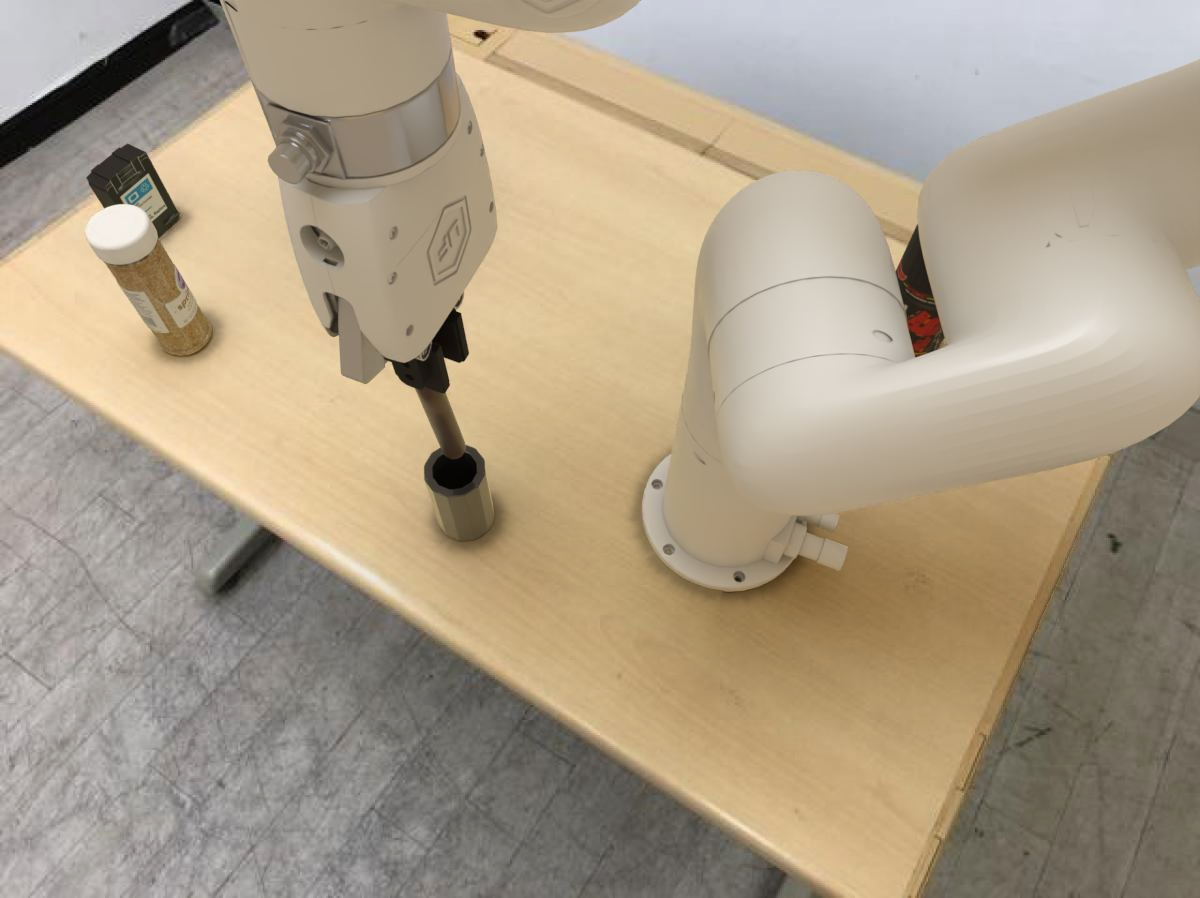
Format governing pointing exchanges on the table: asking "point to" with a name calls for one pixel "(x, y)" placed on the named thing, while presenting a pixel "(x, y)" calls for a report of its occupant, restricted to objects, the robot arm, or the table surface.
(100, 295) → the table surface
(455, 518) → the holder
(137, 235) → the sprinkles bottle
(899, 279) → the deodorant
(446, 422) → the stick
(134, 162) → the ink cartridge
